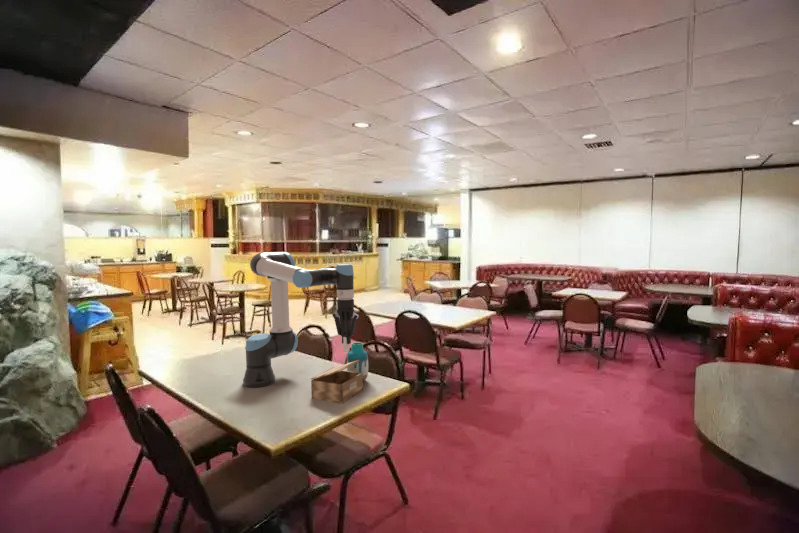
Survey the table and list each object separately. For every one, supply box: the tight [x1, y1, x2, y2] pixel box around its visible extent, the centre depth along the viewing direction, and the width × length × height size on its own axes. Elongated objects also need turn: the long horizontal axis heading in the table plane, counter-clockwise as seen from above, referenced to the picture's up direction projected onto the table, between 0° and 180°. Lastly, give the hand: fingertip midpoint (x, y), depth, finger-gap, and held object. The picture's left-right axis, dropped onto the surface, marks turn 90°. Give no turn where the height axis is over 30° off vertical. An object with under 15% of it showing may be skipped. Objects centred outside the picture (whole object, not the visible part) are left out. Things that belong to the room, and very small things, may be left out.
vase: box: [346, 341, 369, 382], centre depth 200 cm, size 11×11×19 cm
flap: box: [310, 360, 360, 381], centre depth 184 cm, size 16×17×1 cm
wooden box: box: [310, 369, 364, 405], centre depth 184 cm, size 16×18×8 cm
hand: (346, 350), depth 181 cm, fingers closed
